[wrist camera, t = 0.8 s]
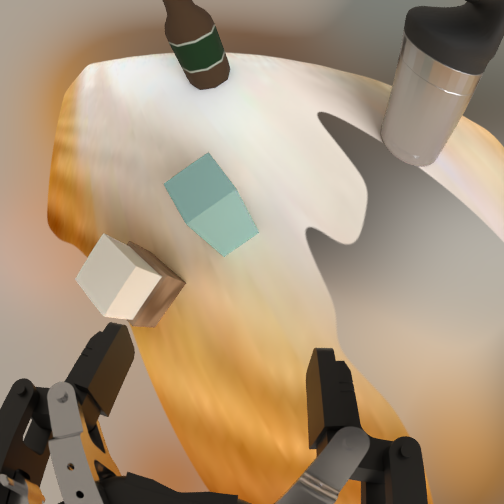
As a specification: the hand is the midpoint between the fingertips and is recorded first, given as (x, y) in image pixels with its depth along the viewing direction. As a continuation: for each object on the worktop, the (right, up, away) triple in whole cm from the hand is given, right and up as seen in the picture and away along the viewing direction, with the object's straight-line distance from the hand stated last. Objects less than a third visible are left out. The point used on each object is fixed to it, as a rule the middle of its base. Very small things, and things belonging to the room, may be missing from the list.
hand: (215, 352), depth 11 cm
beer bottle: (-6, +36, +32) cm, 48 cm away
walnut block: (-11, -1, +23) cm, 25 cm away
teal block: (-1, +7, +23) cm, 24 cm away
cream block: (-12, +1, +18) cm, 22 cm away
